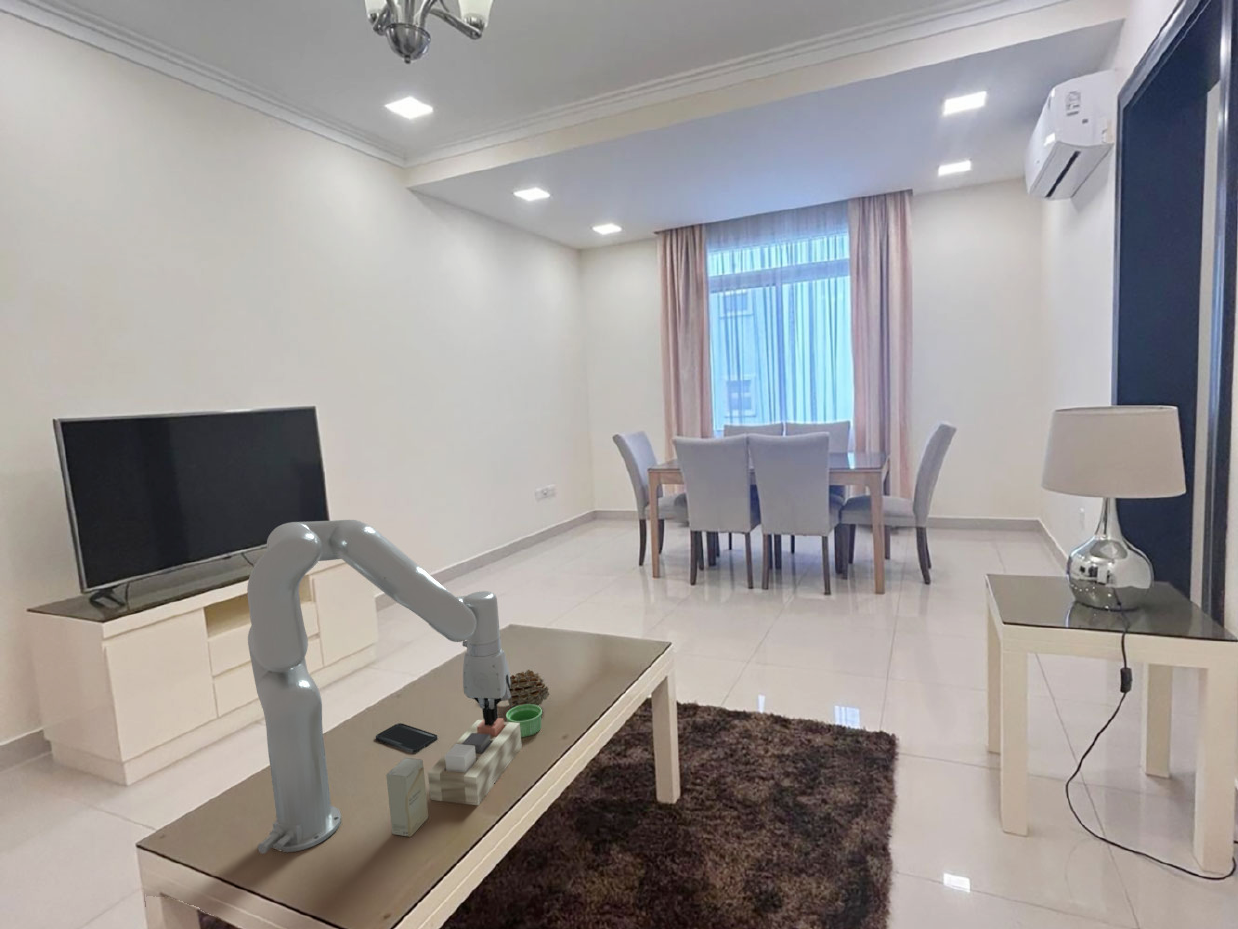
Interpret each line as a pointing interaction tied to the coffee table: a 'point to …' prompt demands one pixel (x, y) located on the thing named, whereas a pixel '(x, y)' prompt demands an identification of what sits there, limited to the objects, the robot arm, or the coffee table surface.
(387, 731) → the phone
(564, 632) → the coffee table surface
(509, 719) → the ramekin
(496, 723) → the brick key
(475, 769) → the wooden compartment tray
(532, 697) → the pine cone
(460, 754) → the white key
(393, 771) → the skincare box
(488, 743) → the grey rectangular block
